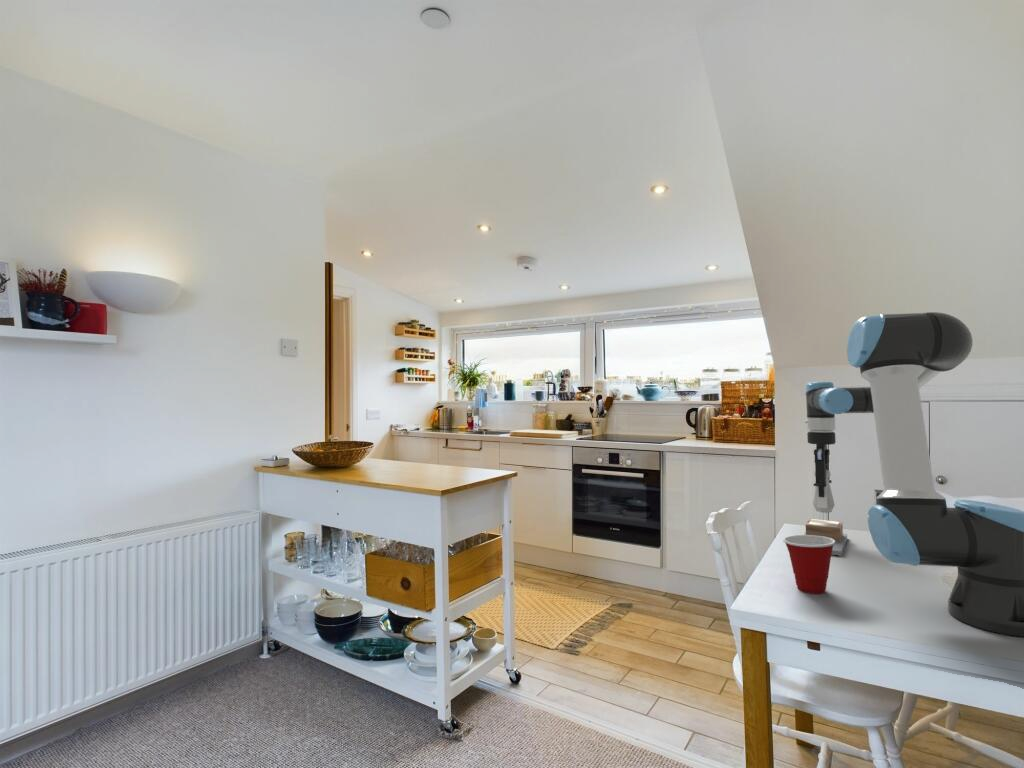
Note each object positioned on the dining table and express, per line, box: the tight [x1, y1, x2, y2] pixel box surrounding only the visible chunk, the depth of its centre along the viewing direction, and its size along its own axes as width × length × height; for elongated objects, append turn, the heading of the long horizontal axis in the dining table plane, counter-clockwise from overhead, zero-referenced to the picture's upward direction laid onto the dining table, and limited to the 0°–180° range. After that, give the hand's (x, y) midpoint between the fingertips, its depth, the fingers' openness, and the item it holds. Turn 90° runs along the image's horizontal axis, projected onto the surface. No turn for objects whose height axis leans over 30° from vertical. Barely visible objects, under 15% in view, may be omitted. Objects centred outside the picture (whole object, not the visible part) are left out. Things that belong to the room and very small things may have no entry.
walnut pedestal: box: [805, 518, 844, 542], centre depth 161 cm, size 9×9×4 cm
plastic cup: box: [782, 534, 835, 595], centre depth 122 cm, size 11×11×12 cm
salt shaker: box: [812, 469, 835, 514], centre depth 162 cm, size 6×6×13 cm
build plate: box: [803, 531, 848, 557], centre depth 158 cm, size 22×11×2 cm, turn 144°
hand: (823, 505), depth 162 cm, fingers closed on salt shaker, 6 cm apart
